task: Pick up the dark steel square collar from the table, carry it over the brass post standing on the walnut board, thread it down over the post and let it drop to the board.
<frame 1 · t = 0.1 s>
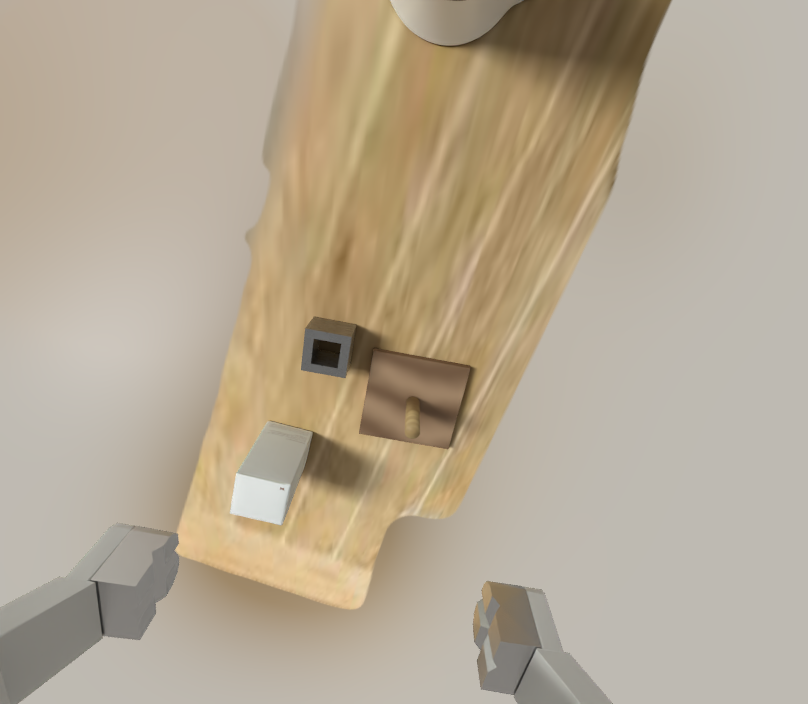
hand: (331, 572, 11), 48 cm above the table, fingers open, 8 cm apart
supplement box: (287, 443, 67), on the table
collar: (332, 340, 60), on the table
post board: (412, 399, 63), on the table
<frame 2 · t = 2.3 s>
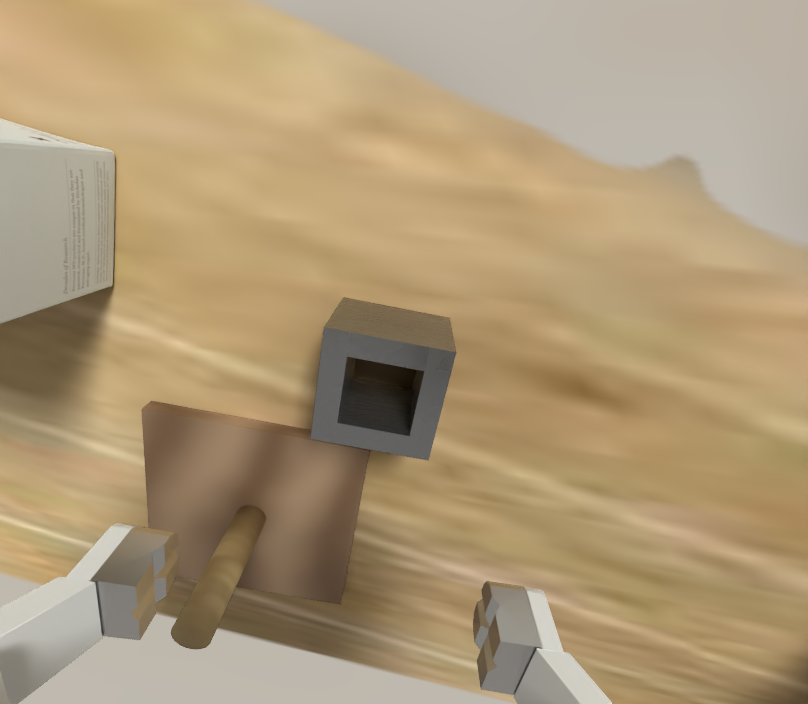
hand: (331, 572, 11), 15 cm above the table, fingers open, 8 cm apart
supplement box: (50, 201, 22), on the table
collar: (387, 356, 25), on the table
post board: (256, 506, 29), on the table
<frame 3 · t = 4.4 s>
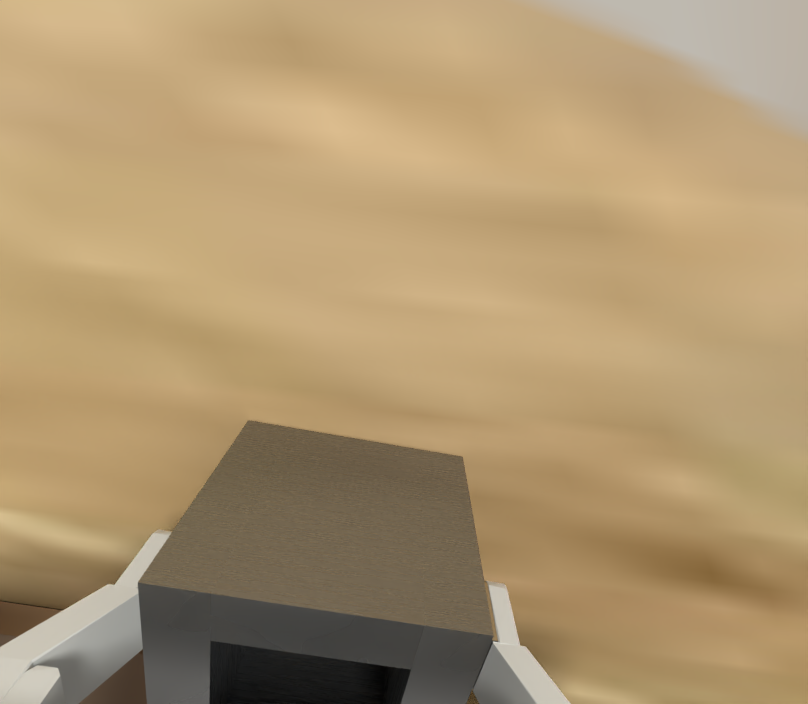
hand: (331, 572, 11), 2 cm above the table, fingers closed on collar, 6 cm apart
collar: (342, 520, 13), on the table, touching gripper
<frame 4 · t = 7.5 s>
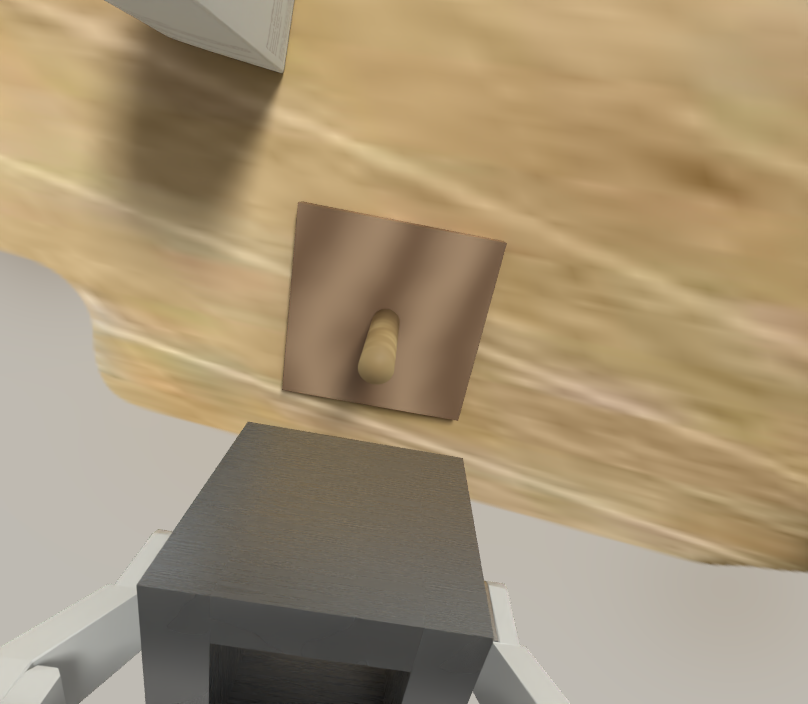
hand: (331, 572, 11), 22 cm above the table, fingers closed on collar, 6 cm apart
collar: (342, 522, 13), point 20 cm above the table, touching gripper
post board: (386, 317, 31), on the table
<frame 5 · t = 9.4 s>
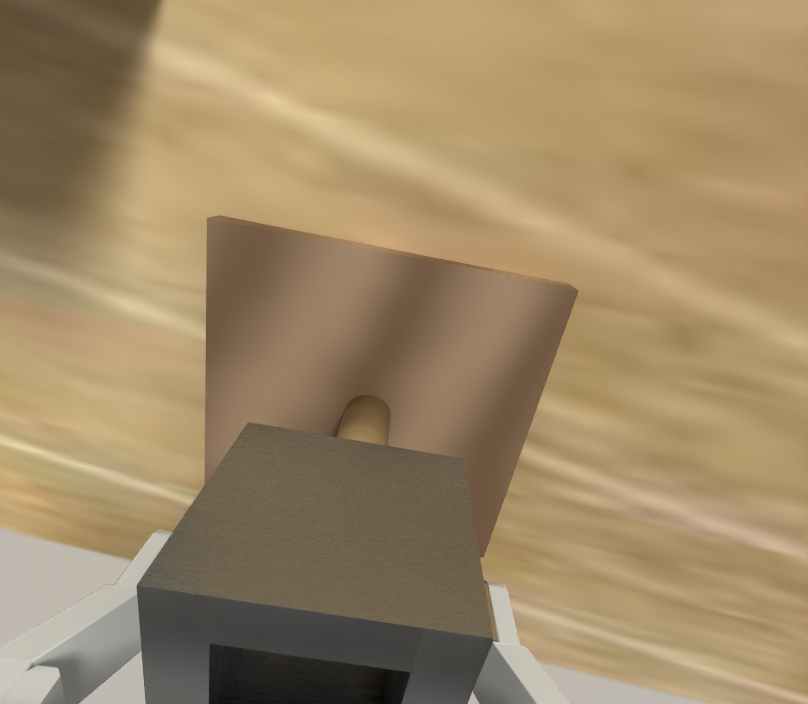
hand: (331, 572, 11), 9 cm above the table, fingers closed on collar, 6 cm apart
collar: (342, 522, 13), point 7 cm above the table, touching gripper
post board: (370, 403, 19), on the table
when the fingers open (6 cm above the table, at t = 10.9 s): collar drops 3 cm, resting on post board.
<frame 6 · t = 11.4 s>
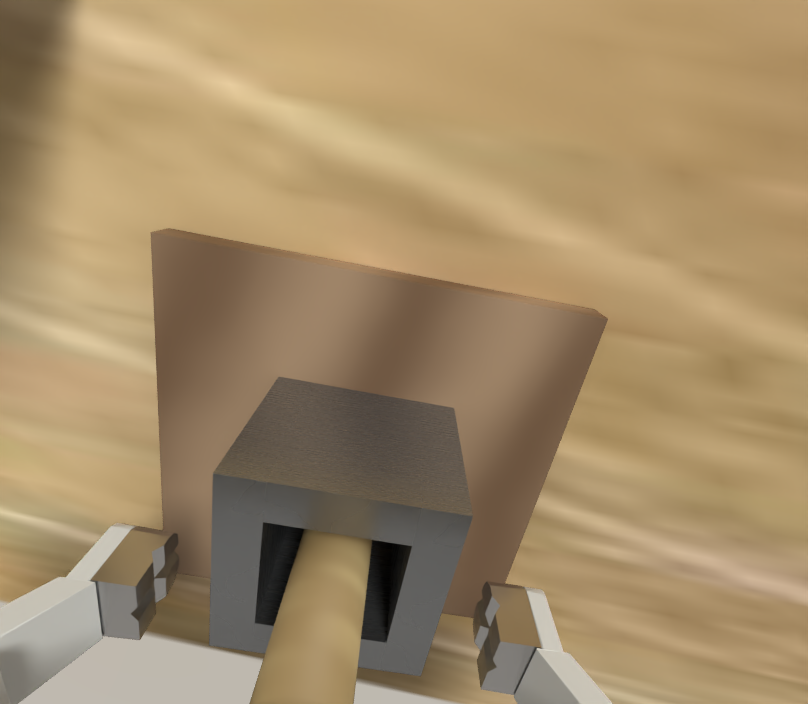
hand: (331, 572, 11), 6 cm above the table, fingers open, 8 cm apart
collar: (354, 464, 15), point 1 cm above the table, touching post board
post board: (356, 447, 16), on the table
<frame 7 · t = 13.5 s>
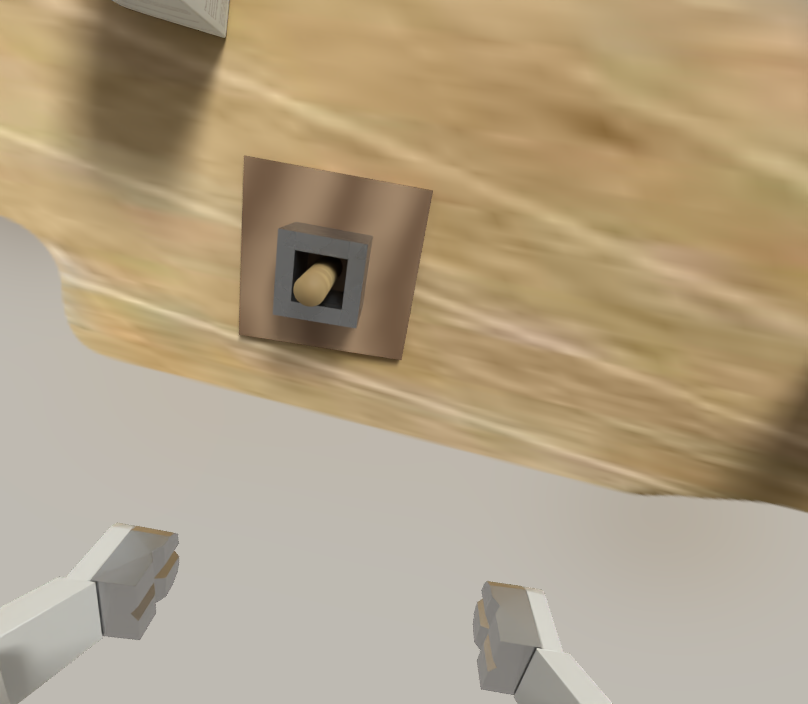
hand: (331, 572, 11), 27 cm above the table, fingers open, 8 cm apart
collar: (330, 267, 34), point 1 cm above the table, touching post board
post board: (331, 264, 35), on the table
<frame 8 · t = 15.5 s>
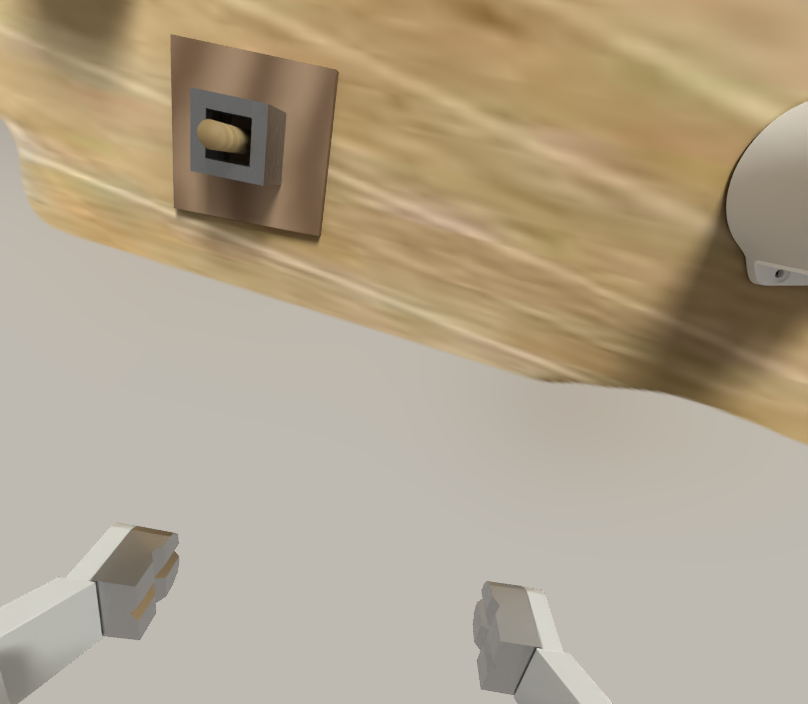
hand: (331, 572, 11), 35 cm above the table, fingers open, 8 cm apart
collar: (250, 143, 38), point 1 cm above the table, touching post board
post board: (254, 143, 39), on the table
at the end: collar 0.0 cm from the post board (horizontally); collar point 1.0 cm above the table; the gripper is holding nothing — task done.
